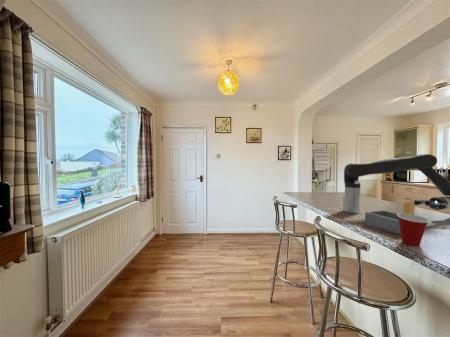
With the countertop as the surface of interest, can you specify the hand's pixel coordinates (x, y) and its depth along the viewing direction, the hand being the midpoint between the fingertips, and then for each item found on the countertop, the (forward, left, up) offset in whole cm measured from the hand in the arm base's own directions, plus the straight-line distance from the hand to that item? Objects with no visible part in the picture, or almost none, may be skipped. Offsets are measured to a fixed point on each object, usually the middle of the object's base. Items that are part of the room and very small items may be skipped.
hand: (422, 204), depth 128 cm
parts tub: (+4, -30, -10) cm, 32 cm away
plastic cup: (+22, -43, -10) cm, 50 cm away
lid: (0, -10, -10) cm, 15 cm away
